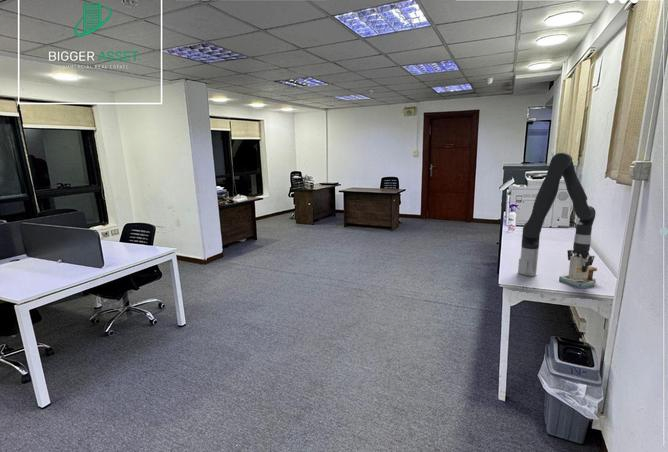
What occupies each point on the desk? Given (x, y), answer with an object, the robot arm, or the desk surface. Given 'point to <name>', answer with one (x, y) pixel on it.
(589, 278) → the stool
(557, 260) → the desk surface
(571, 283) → the tray
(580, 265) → the supplement box
